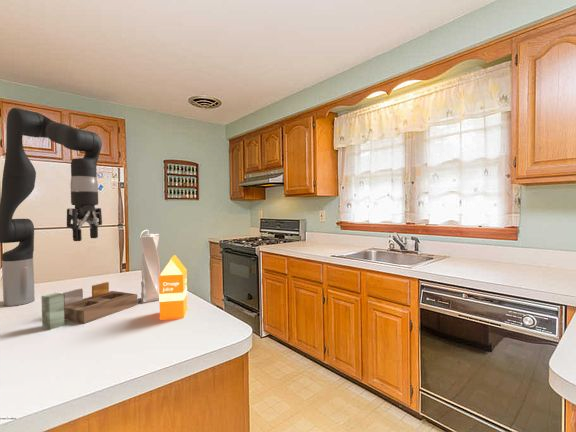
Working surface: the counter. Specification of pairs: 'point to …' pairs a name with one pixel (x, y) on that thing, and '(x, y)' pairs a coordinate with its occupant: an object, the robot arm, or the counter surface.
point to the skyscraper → (150, 268)
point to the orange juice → (173, 290)
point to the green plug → (52, 310)
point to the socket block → (96, 303)
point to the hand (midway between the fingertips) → (86, 239)
